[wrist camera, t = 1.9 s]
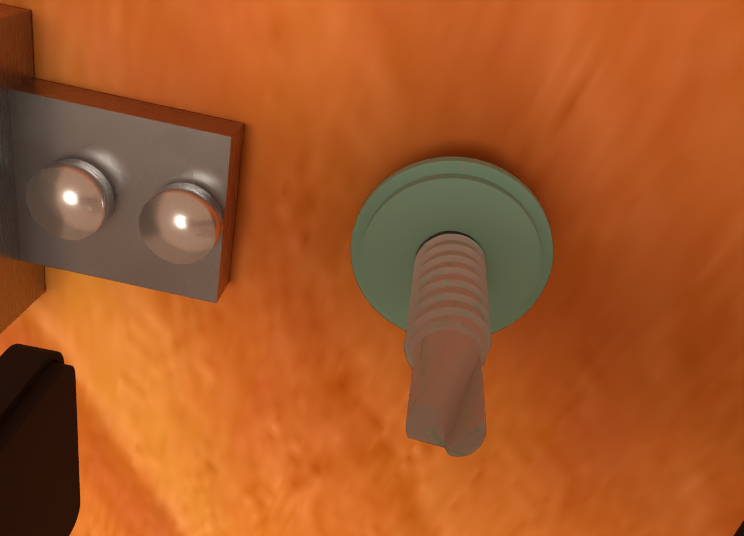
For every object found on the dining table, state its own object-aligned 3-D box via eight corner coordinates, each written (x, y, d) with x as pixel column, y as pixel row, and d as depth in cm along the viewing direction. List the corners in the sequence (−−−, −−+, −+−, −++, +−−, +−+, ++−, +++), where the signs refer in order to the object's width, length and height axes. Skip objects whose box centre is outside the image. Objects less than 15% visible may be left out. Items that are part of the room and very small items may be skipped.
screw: (334, 166, 19) (516, 107, 17) (396, 316, 21) (562, 274, 19) (243, 360, 11) (564, 278, 9) (356, 573, 13) (634, 530, 12)
